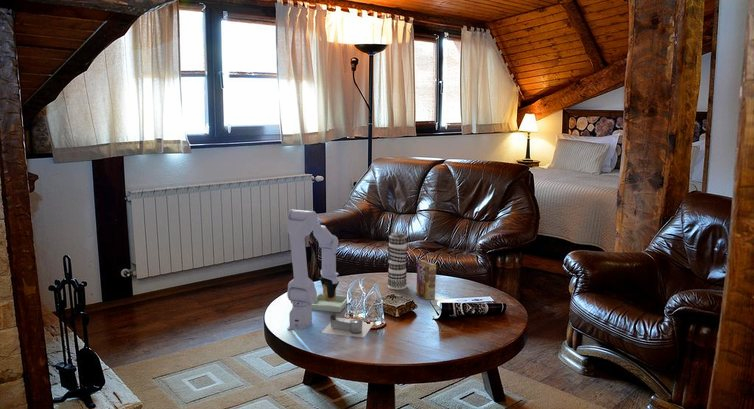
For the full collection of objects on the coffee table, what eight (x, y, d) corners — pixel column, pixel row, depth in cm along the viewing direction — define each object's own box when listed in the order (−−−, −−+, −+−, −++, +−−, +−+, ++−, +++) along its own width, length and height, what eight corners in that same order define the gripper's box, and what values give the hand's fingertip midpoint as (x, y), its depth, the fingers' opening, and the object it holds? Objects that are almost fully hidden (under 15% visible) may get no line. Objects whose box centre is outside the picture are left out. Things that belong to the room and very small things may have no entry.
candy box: (435, 298, 258) (436, 264, 255) (427, 300, 256) (428, 265, 253) (423, 292, 266) (424, 259, 263) (415, 294, 263) (416, 260, 261)
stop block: (335, 300, 245) (335, 285, 244) (326, 301, 243) (326, 287, 242) (332, 297, 249) (332, 283, 248) (323, 298, 247) (323, 284, 246)
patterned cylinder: (384, 284, 277) (384, 231, 272) (403, 282, 280) (403, 230, 275) (390, 290, 268) (391, 236, 264) (410, 288, 271) (411, 234, 267)
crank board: (363, 340, 213) (363, 337, 213) (321, 335, 217) (321, 332, 217) (375, 323, 229) (375, 321, 228) (335, 319, 232) (335, 317, 232)
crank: (364, 330, 219) (364, 317, 218) (358, 334, 215) (359, 321, 214) (333, 324, 224) (333, 311, 223) (327, 328, 220) (327, 315, 219)
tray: (340, 314, 238) (340, 307, 238) (306, 311, 242) (306, 304, 241) (350, 303, 252) (350, 296, 251) (318, 300, 255) (318, 293, 254)
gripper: (344, 267, 239) (344, 299, 241) (331, 258, 252) (331, 289, 254) (328, 269, 236) (328, 302, 238) (315, 260, 249) (315, 291, 251)
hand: (329, 295), depth 246 cm, fingers closed on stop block, 4 cm apart
